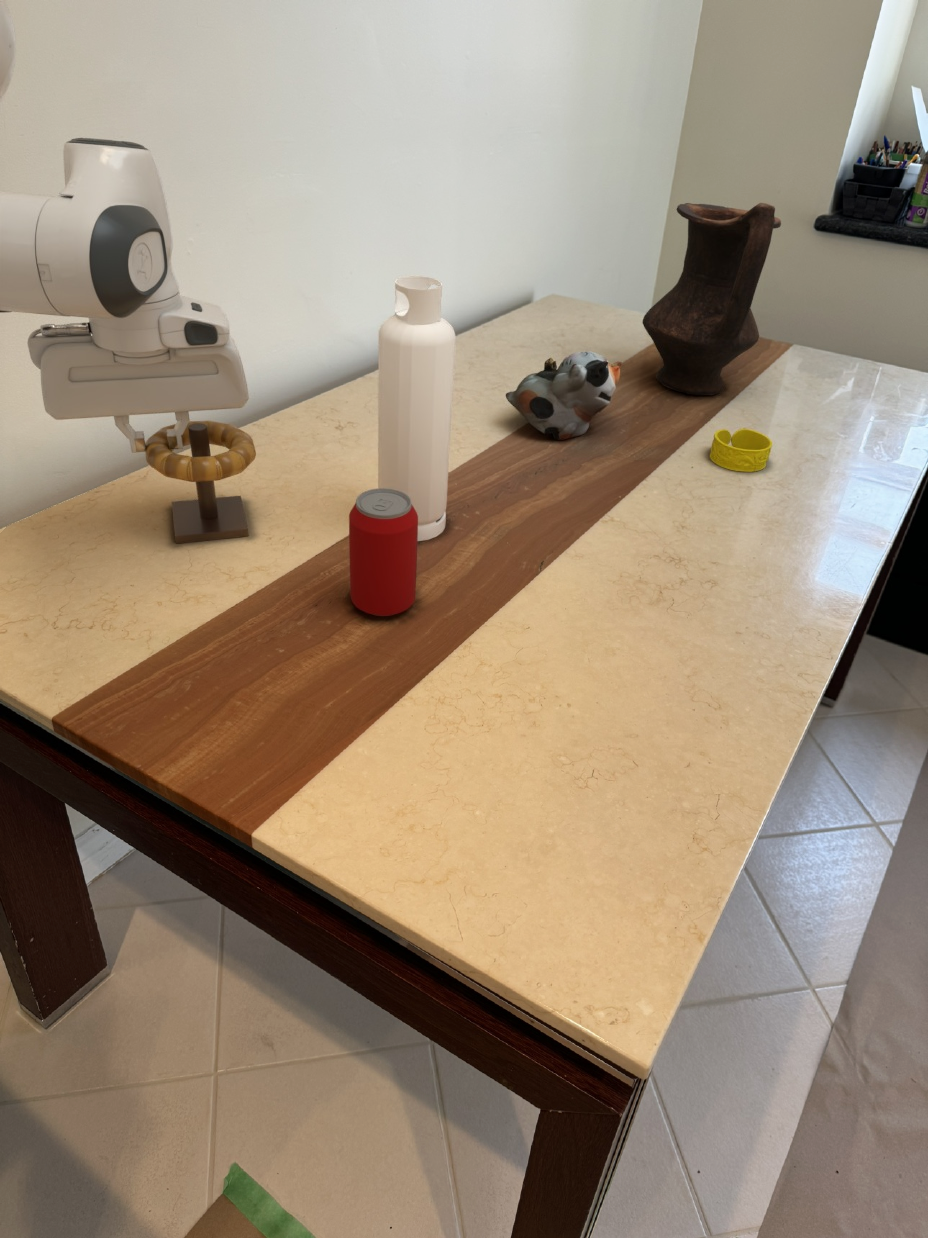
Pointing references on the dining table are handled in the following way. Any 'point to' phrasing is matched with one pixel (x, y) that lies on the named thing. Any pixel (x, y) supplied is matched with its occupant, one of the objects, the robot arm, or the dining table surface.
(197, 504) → the post
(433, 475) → the bottle
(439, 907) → the dining table surface
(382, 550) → the beverage can
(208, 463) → the ring
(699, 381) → the jug
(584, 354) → the lucky cat figurine
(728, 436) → the bracelet
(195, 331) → the robot arm
